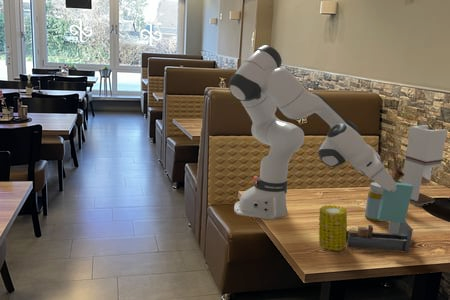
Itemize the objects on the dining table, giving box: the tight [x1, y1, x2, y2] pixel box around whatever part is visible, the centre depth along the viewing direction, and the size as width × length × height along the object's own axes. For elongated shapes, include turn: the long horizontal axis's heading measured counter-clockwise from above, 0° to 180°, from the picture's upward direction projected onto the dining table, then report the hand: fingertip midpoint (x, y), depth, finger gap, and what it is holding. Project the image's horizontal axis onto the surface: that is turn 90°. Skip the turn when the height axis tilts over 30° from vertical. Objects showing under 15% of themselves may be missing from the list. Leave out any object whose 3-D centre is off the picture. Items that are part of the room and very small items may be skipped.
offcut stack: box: [347, 224, 374, 240], centre depth 155 cm, size 8×2×8 cm, turn 87°
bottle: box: [364, 181, 384, 222], centre depth 178 cm, size 7×7×15 cm
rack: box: [346, 220, 414, 254], centre depth 154 cm, size 21×8×9 cm, turn 87°
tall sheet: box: [377, 181, 413, 223], centre depth 151 cm, size 9×2×14 cm, turn 88°
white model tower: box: [400, 124, 448, 207], centre depth 200 cm, size 11×11×35 cm
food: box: [318, 204, 348, 252], centre depth 152 cm, size 15×12×10 cm
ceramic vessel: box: [380, 150, 404, 183], centre depth 194 cm, size 16×9×25 cm, turn 30°
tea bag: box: [387, 219, 407, 234], centre depth 163 cm, size 4×7×10 cm, turn 139°
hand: (392, 187), depth 150 cm, fingers closed on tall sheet, 2 cm apart
